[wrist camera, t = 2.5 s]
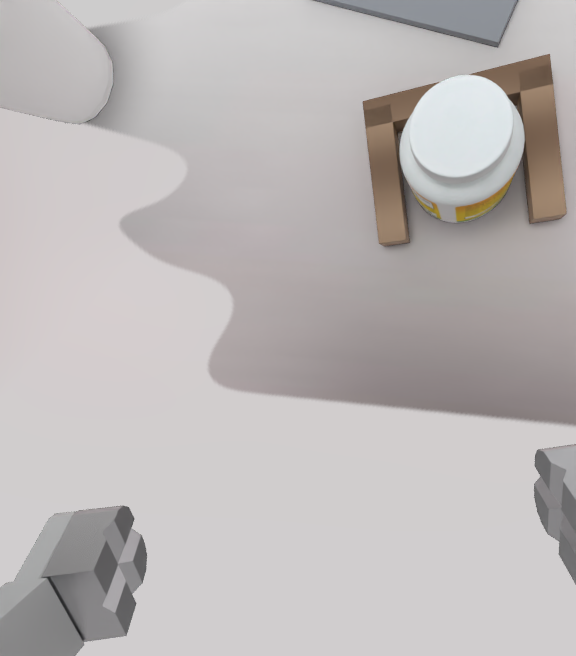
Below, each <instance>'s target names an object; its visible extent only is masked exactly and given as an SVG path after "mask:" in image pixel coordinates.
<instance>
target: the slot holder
mask: <svg viewBox="0 0 576 656" xmlns="http://www.w3.org/2000/svg"><path fill="white" fill-rule="evenodd" d="M469 75H476V76H481V77H484V78H487V79H489V80H491V81H492V82H494V83H496V84H497V85H498V86H499V87H500V88H501V89H502V90H503V91H504V92H505V93H506V95H507V97H508V98H509V100H510V101H511V102H512V103H513V104H514V106H515V105H517V110H518V112H519V114H520V117H521V119H522V123H523V127H524V135H525V142H524V149H523V154H522V156H523V166H524V175H525V184H526V194H527V203H528V212H529V222H530V224H531V223H537V222H543V221H550V220H556V219H561V218H562V217H563V216H564V215H566V214H567V213H566V203H565V194H564V184H563V175H562V165H561V156H560V146H559V137H558V127H557V118H556V108H555V99H554V89H553V80H552V70H551V61H550V54H548V55H544V56H540V57H536V58H532V59H528V60H524V61H520V62H516V63H512V64H508V65H504V66H500V67H496V68H492V69H489V70H485V71H481V72H477V73H473V74H469ZM438 83H439V82H437V83H433V84H429V85H426V86H422V87H418V88H414V89H410V90H406V91H402V92H398V93H394V94H390V95H386V96H382V97H378V98H374V99H370V100H367V101H363V109H364V117H365V126H366V135H367V143H368V152H369V160H370V169H371V178H372V186H373V195H374V204H375V212H376V221H377V230H378V238H379V244H381V245H383V246H390V245H397V244H403V243H410V240H409V231H408V222H407V213H406V205H405V196H404V187H403V178H402V169H401V163H400V154H399V143H398V134H397V132H401V131H403V129H404V127H405V125H406V123H407V121H408V119H409V117H410V116H411V114H412V113H413V111H414V109H415V107H416V105H417V104H418V102H419V100H420V99H421V98H422V96H423V95H424V94H425V93H426V92H427V91H428V90H429V89H431V88H432V87H433V86H435V85H436V84H438Z"/></svg>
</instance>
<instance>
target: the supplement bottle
mask: <svg viewBox="0 0 576 656" xmlns="http://www.w3.org/2000/svg"><path fill="white" fill-rule="evenodd" d="M524 142H525V135H524V127H523V123H522V119H521V117H520V114H519V112H518V110H517V109H516V107H515V106H514V104H513V103H512V102H511V101H510V100H509V98H508V97H507V95H506V93H505V92H504V91H503V90H502V89H501V88H500V87H499V86H498V85H497V84H496V83H494V82H492V81H491V80H489V79H487V78H484V77H481V76H476V75H459V76H454V77H451V78H448V79H446V80H443V81H441V82H439V83H438V84H436V85H435V86H433V87H432V88H431V89H429V90H428V91H427V92H426V93H425V94H424V95H423V96H422V98H421V99H420V100H419V102H418V104H417V105H416V107H415V109H414V111H413V113H412V114H411V116H410V117H409V119H408V121H407V123H406V125H405V127H404V129H403V133H402V136H401V140H400V151H399V154H400V163H401V167H402V170H403V173H404V176H405V178H406V180H407V182H408V184H409V186H410V188H411V190H412V192H413V194H414V196H415V197H416V199H417V201H418V202H419V204H420V205H421V207H422V208H423V209H424V210H425V211H426V212H428V213H429V214H430V215H432V216H433V217H435V218H437V219H439V220H442V221H446V222H453V223H459V222H467V221H471V220H474V219H477V218H479V217H481V216H483V215H485V214H486V213H488V212H489V211H491V210H492V209H493V208H494V207H495V206H496V205H498V203H499V202H500V201H501V200H502V198H503V197H504V196H505V194H506V192H507V190H508V188H509V186H510V184H511V181H512V179H513V177H514V174H515V172H516V170H517V168H518V166H519V163H520V161H521V158H522V154H523V149H524Z"/></svg>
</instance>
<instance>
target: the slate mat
mask: <svg viewBox="0 0 576 656" xmlns="http://www.w3.org/2000/svg"><path fill="white" fill-rule="evenodd" d="M315 1H319V2H323V3H327V4H331V5H334V6H338V7H342V8H346V9H350V10H354V11H358V12H362V13H366V14H370V15H374V16H378V17H381V18H385V19H389V20H393V21H397V22H401V23H405V24H409V25H413V26H417V27H421V28H425V29H428V30H432V31H436V32H440V33H444V34H448V35H452V36H456V37H460V38H464V39H468V40H472V41H475V42H479V43H483V44H487V45H491V46H495V47H498V45H499V43H500V40H501V38H502V36H503V33H504V31H505V29H506V26H507V24H508V22H509V19H510V17H511V15H512V12H513V10H514V8H515V5H516V3H517V1H518V0H315Z"/></svg>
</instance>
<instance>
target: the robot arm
mask: <svg viewBox="0 0 576 656" xmlns="http://www.w3.org/2000/svg"><path fill="white" fill-rule="evenodd" d="M535 467H536V469H537V471H538V472H539V474H540V476H541V477H540V478H539V479H538V480H537V481H536V483H535V484H534V492H535V493H534V496H535V497H534V498H535V502H536V507H537V512H538V514H539V517H540V519H541V522H542V524H543V526H544V528H545V530H546V532H547V533H548V535H550V536H551V537H553V538H555V539H556V540H558V541H559V542H560V543H559V555H560V557H561V559H562V561H563V562H564V564H565V566H566V568H567V569H568V571H569V573H570V575H571V577H572V579H573V580H574V582H575V584H576V444H574V445H567V446H560V447H553V448H546V449H539V450H537V452H536V455H535ZM133 521H134V517H133V515H132V513H131V511H130V509H129V507H126V506H116V507H107V508H98V509H89V510H79V511H76V512H66V513H57V514H54V515H53V516H52V517H50V518H49V520H48V521H47V523H46V525H45V526H44V528H43V530H42V532H41V533H40V535H39V537H38V539H37V541H36V542H35V544H34V546H33V548H32V549H31V551H30V553H29V555H28V557H27V558H26V560H25V562H24V564H23V565H22V567H21V569H20V571H19V573H18V574H17V576H16V578H15V580H14V581H13V582H8V583H5V584H4V585H3V586H2V587H0V656H75V655H76V654H77V653H78V652H79V650H80V649H81V648H82V647H83V646H84V642H87V641H92V640H101V639H107V638H115V637H121V636H126V635H127V632H128V629H129V626H130V622H131V619H132V616H133V612H134V609H135V606H136V602H135V600H134V598H133V595H132V593H133V592H134V591H135V590H136V589H137V588H138V587H139V586H140V585H141V584H142V583H143V579H144V576H145V572H146V561H147V553H146V548H145V543H144V540H143V538H142V535H141V534H139V533H138V532H136V531H135V530H133V529H132V528H131V527H132V525H133Z"/></svg>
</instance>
